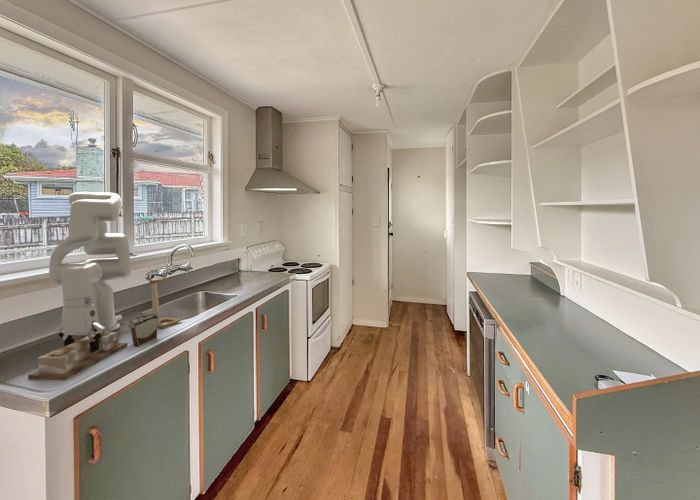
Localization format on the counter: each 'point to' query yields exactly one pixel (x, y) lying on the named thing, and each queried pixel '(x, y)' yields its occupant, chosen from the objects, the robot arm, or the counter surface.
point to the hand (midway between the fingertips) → (82, 350)
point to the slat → (79, 348)
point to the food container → (143, 328)
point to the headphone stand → (156, 306)
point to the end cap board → (82, 364)
